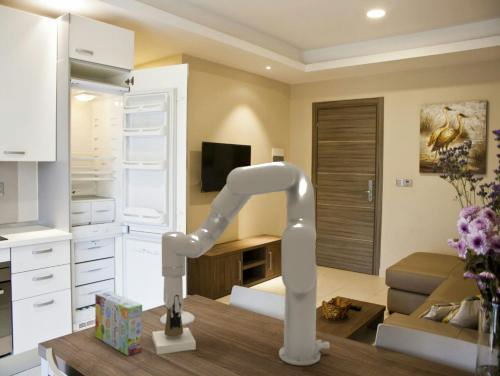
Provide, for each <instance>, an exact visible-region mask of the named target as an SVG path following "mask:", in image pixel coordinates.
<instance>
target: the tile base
mask: <svg viewBox="0 0 500 376" xmlns="http://www.w3.org/2000/svg"><path fill="white" fill-rule="evenodd" d="M151 336H152V337H151V338H152V342H153V345H154V350H155V352H156V355H165V354H171V353H177V352H185V351H193V350H197V349H196V344H197V343H196V342H197V341H196V340H195V338H194V335H193V334H192V332H191V330H190V329H189V327H183V334H181V335H179V336H167V335H165V329H164V330H158V331H152V335H151Z"/></svg>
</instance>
